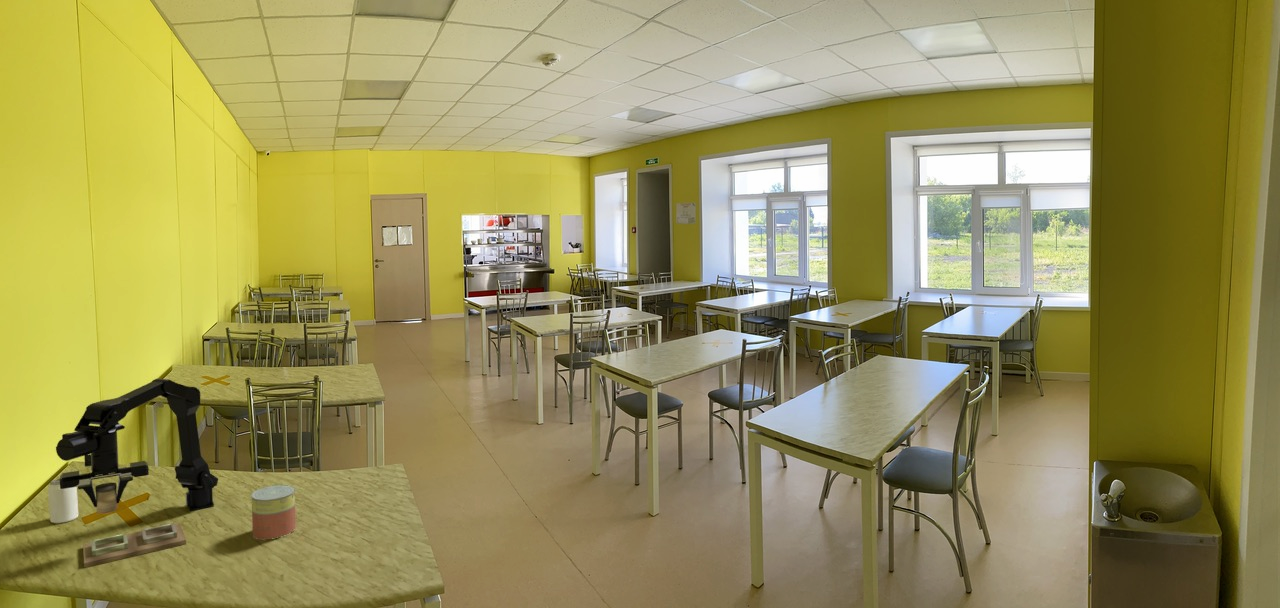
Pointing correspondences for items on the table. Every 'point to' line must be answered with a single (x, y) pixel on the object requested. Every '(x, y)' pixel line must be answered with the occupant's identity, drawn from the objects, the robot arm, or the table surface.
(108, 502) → the cylinder
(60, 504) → the can
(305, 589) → the table surface
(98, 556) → the board
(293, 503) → the canned food
